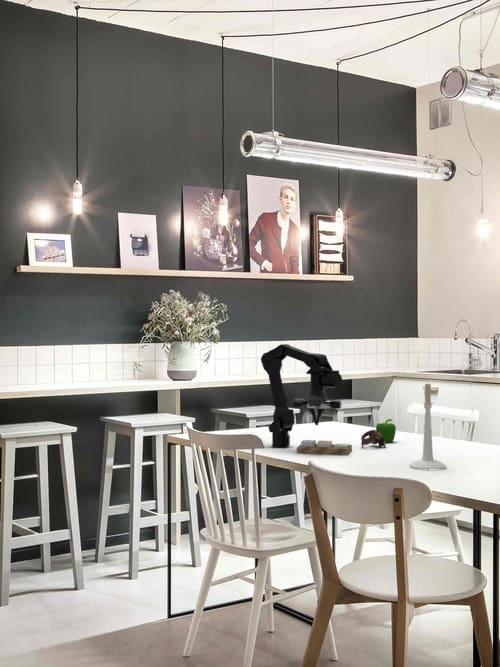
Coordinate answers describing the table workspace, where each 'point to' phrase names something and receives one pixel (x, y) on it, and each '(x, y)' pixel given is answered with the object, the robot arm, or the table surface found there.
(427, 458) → the candlestick
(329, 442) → the tile two
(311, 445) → the tile one
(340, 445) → the tile three
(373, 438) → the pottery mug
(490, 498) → the table surface
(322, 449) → the tile board
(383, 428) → the bell pepper
